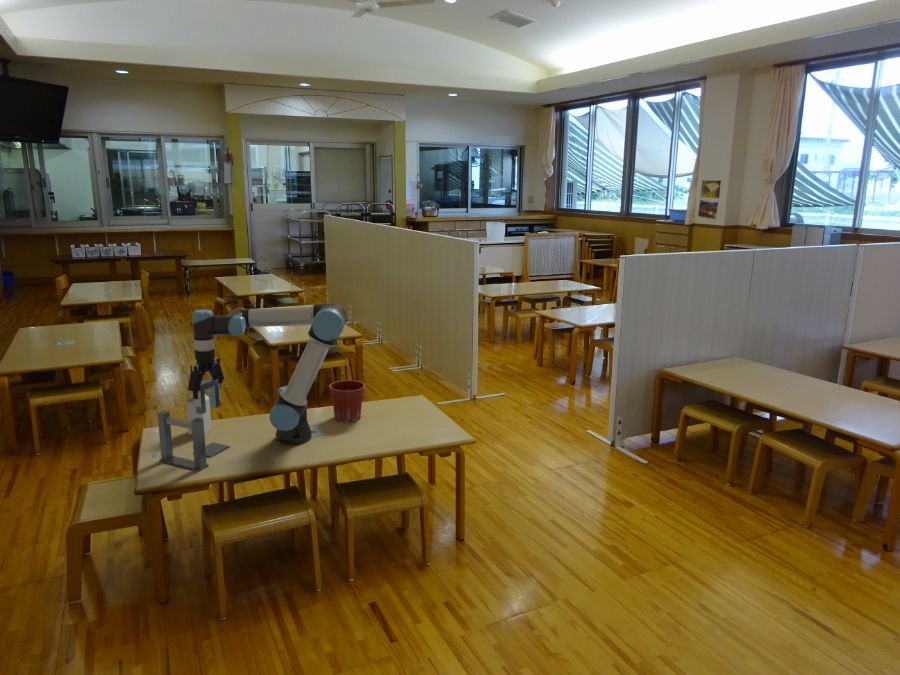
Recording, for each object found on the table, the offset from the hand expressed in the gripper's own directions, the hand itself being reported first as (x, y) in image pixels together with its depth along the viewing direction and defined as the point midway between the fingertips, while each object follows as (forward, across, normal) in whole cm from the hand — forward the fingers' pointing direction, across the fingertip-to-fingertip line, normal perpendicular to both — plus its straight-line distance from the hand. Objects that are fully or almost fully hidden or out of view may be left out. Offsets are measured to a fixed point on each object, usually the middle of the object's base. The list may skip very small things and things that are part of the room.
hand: (207, 402), depth 259 cm
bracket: (+3, 0, 0) cm, 3 cm away
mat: (+21, 0, 0) cm, 21 cm away
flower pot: (+21, -57, +30) cm, 68 cm away
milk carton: (+21, -13, -18) cm, 30 cm away
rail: (+21, +14, 0) cm, 25 cm away
